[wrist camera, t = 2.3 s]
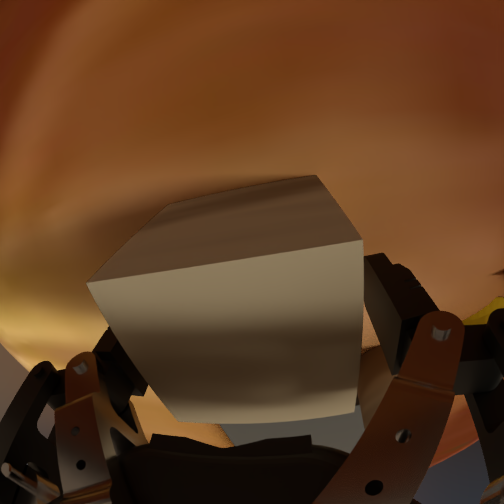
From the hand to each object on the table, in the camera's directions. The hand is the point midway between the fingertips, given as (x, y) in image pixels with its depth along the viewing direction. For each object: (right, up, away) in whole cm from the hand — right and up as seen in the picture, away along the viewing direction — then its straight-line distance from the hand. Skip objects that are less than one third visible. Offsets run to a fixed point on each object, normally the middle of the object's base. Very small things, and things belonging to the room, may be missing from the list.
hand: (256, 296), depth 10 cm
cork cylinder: (+8, -5, +4) cm, 10 cm away
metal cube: (0, +1, +2) cm, 2 cm away
